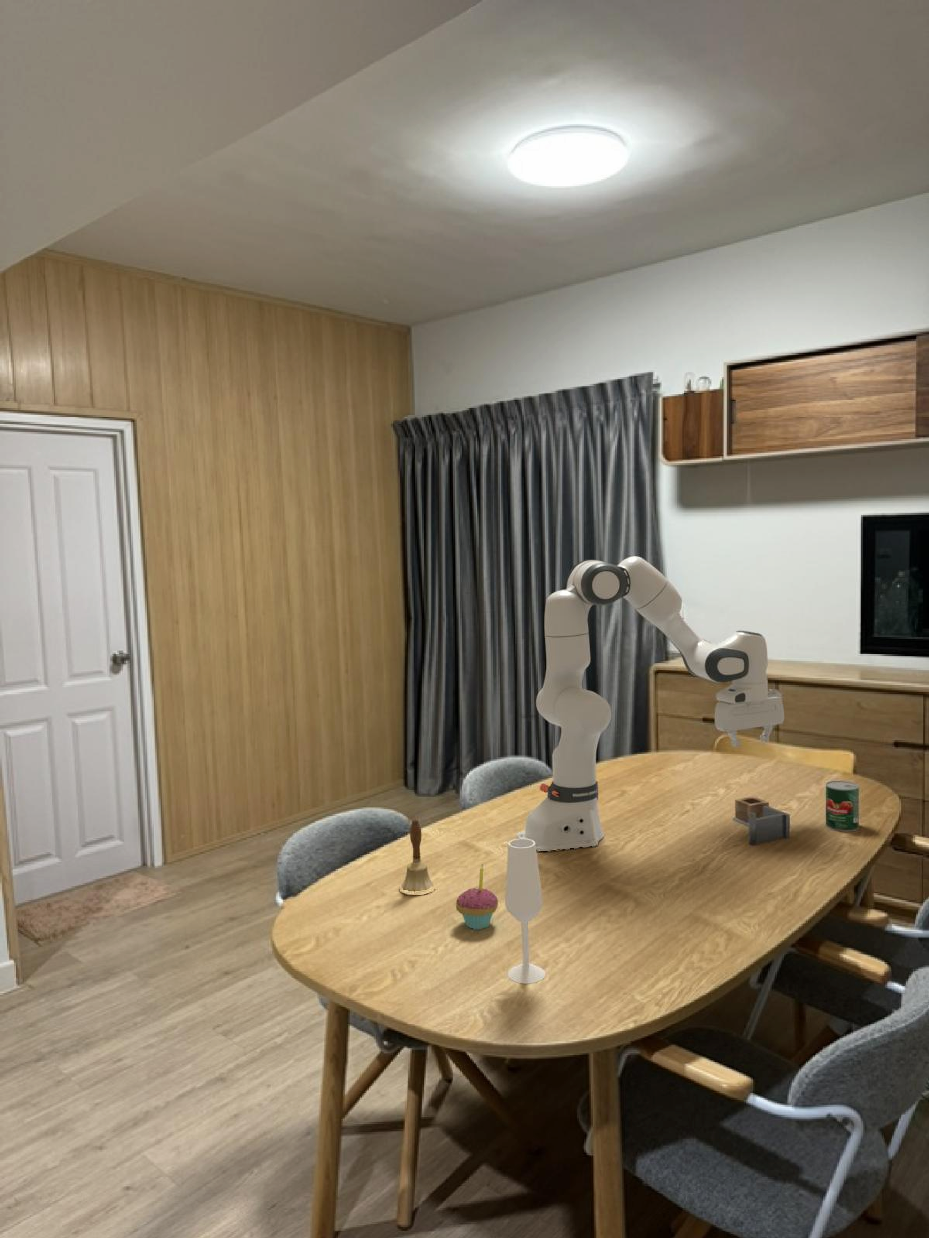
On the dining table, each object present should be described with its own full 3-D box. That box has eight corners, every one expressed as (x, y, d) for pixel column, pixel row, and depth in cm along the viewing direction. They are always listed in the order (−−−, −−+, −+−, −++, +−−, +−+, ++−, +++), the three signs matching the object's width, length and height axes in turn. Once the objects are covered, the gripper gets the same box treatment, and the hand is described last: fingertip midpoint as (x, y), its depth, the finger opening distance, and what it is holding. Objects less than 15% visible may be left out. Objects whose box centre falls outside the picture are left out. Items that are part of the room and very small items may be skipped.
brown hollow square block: (750, 824, 223) (750, 805, 222) (735, 817, 228) (735, 799, 228) (768, 820, 225) (768, 802, 225) (753, 814, 231) (753, 796, 230)
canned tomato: (827, 830, 218) (827, 788, 217) (824, 820, 225) (823, 779, 224) (861, 832, 215) (861, 790, 214) (856, 822, 223) (856, 781, 222)
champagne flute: (524, 987, 148) (519, 853, 145) (500, 972, 153) (494, 842, 151) (553, 974, 151) (548, 843, 149) (528, 960, 157) (524, 833, 155)
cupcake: (475, 911, 179) (472, 856, 177) (507, 922, 173) (505, 864, 172) (448, 927, 172) (445, 869, 171) (481, 938, 167) (479, 878, 165)
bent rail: (753, 845, 209) (752, 815, 209) (730, 835, 217) (730, 806, 216) (789, 837, 214) (789, 808, 213) (766, 828, 221) (766, 799, 220)
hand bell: (443, 884, 193) (440, 816, 192) (423, 898, 186) (419, 827, 185) (412, 878, 198) (409, 811, 196) (392, 892, 190) (388, 822, 189)
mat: (750, 827, 222) (750, 825, 222) (732, 819, 229) (732, 817, 229) (771, 823, 225) (771, 820, 225) (753, 815, 231) (753, 813, 231)
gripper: (772, 686, 231) (773, 737, 232) (710, 694, 223) (711, 746, 224) (789, 690, 225) (789, 741, 226) (726, 697, 217) (727, 751, 218)
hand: (750, 744), depth 225 cm, fingers open, 8 cm apart
